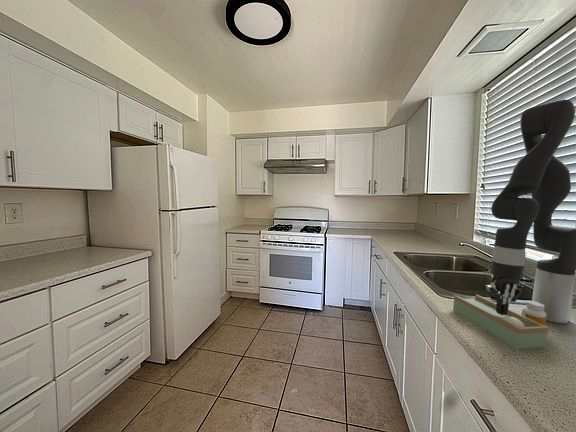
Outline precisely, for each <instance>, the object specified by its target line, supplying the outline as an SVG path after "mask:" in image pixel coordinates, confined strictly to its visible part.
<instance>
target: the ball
mask: <svg viewBox="0 0 576 432" xmlns="http://www.w3.org/2000/svg"><path fill="white" fill-rule="evenodd" d="M502 319H503V320H505V321H507V322H509V323H511V324H513V325H515V326H517V327H525V325H524V324H523V323H522V322H521V321H520V320H519V319H517V318H515V317H511V316H506V317H503V318H502Z"/></svg>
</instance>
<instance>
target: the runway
mask: <svg viewBox="0 0 576 432" xmlns="http://www.w3.org/2000/svg"><path fill="white" fill-rule="evenodd" d="M496 304H497V302H495V301H493V300H491V299H487V298H486V297H483V296H481V295H479V294H475V297H474V298H463V297H461V296H458V295H454V298H453V308H452V311H453V312H454V313H456V314H457V315H459V316H461V317H463V318H464V319H466V320H468V321H469V322H471V323H473V324H475V325H476V327H477V326H478V327H479V328H481V329H482V330H484V331H485V332H488V333H489V334H490V335H492V336H494V337H496V338H497V339H499V340H501V341H502V342H504V343H506V344H507V345H509V346H511V347H512V348H513V349H516V350H526V349H538V348H539V349H540V348H543V349H544V348H546V345H547V339H548V331H549V327H548V326H546V325H545V326H544V325H542V324H539V323H537V322H535V321H533V320H531V319H529V318H527V317H524V316H522V314H521V313H518V312H516V311H513V310H511V309H509V308H508V312H507V315H500V314H498V313H497V312H496ZM506 316H511V317H515V318H517V319H519V320H520V321H521V322H522V323H523V324H524V325H525V327H517V326H515V325H513V324H511V323H509V322H507V321H505V320H503V319H502V318H503V317H506Z"/></svg>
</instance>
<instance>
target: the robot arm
mask: <svg viewBox="0 0 576 432" xmlns="http://www.w3.org/2000/svg"><path fill="white" fill-rule="evenodd" d="M575 117H576V108H575V105H574V103H573V102H572V101H571V100H569V99H560V100H556V101H553V102H548V103H545V104H541V105H537V106H533V107H529V108H527V109H525V110H524V111H523V112H522V113H521V116H520V122H519V125H520V132H521V136H522V140H523V145H524V149H525V155H523V156H522V157H521V158H520V159H519V160H518V162H517V163H516V164H515V166H514V168H513V169H512V173H511V175H510V178H509V180H508V182H507V184H506V185H505V187H504V188H503V189H502V190H501V192H500V193H499V194H498V195H497V197H496V198H495V199H494V201H493V202H492V205H491V213H492V216H493V217H494V218H496V219H498V220H505V221H508V220H509V221H516V223H515V224H514V225H513V226H508V227H507V226H505V227H503V226H502V227H499V228H497V229H496V231H495V232H496V233H495V240H494V246H493V250H492V256H491V263H490V264H491V266H490V273H491V274H492V278H491V280H490V282H491V283H489V284H488V285H487V284H484V286H483V288H484V290H485V291H486V293H487V294H488V296H489V298H490V300H491V301H494V302H495V303H496V312H497V313H498V314H500V315H507V312H508V309H509V305H510V304H511V303H515V302H516V301H517V300H518V299H519V298H520V296H521V295H522V294H523V293H524V291H525V290H526V287H525V286H524V285H521V284H520V280H522V279H523V277H524V271H525V263H526V247H527V238H528V235H529V232H530V230H531V228H532V226H533V241H534V245H535V247H536V248H538V249H539V250H544V251H548V252H554V253H558V254H559V255H558V257H555V258H551V259H539V260H538V261H537V262H536V269H535V277H534V283H533V292H532V299H531V301H535V302H538V303H541V304H543V305H544V310H543V311H544V312H545V313H546V315H547V316H546V322H547V321H548V322H551V323H557V324H568V323H569V322H570V320H571V315H572V308H573V301H574V294H573V291H574V285H575V277H576V227H569V226H561V225H560V226H559V225H553V224H552V216H553V215H554V212H555V211H556V209H557V208H558V207H559V205H561V204H562V203H563V202H564V200H565V199H567V197H568V196H569V194H570V192H571V190H572V185H571V183H572V182H571V174H570V173H571V172H570V169H569V168H568V166H567V165H566V164H565V163H564V162H562V160H560V159H559V158H558V157H557V156H556V155H555V153H556V152H557V150H558V148H559V147H560V145H561V143H562V142H563V140H564V138H565V137H566V135H567V133H568V132H569V130H570V129H571V126H572V125H573V122H574V120H575ZM525 195H531V197H521V196H525Z"/></svg>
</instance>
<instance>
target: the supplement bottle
mask: <svg viewBox="0 0 576 432" xmlns="http://www.w3.org/2000/svg"><path fill="white" fill-rule="evenodd" d="M543 310H544V305H543V304H541V303H538V302H535V301H532V300H526V302H525V306H524V307H522V309H521V315H522V316H524V317H527V318H529V319H531V320H533V321H535V322H537V323H539V324H542V325H544V326H546V322H547V320H546V316H547V315H546V313H545V312H544V311H543Z"/></svg>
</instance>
